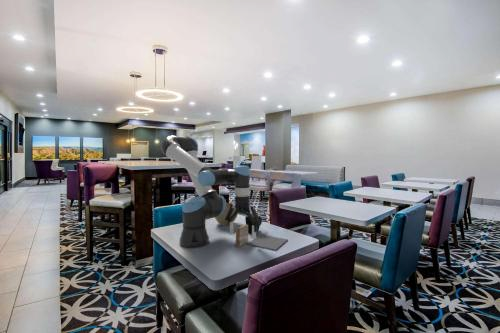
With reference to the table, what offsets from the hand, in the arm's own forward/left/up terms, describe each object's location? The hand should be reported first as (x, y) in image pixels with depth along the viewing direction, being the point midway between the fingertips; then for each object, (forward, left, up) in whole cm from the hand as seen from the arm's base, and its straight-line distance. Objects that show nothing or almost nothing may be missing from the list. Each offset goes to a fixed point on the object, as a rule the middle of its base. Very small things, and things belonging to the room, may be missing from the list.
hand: (242, 235), depth 129 cm
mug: (-4, +21, -4) cm, 22 cm away
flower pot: (-28, +25, -4) cm, 38 cm away
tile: (0, 0, -4) cm, 4 cm away
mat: (+11, +8, -4) cm, 14 cm away
